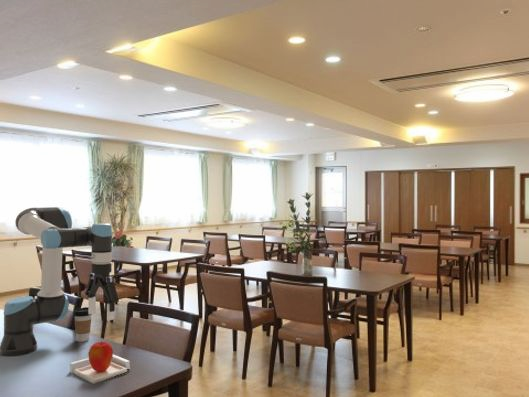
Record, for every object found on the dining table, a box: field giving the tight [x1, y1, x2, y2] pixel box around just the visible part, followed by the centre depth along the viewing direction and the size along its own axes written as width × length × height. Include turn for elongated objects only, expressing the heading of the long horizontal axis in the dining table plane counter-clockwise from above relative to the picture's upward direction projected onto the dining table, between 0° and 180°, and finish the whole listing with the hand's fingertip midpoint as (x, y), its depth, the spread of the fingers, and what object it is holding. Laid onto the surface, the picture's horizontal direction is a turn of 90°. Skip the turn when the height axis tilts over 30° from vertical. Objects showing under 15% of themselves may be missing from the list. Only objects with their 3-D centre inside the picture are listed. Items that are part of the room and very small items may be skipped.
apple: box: [88, 341, 114, 372], centre depth 181 cm, size 9×9×12 cm
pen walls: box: [69, 353, 131, 374], centre depth 183 cm, size 16×17×4 cm
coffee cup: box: [73, 306, 93, 343], centre depth 223 cm, size 8×8×15 cm
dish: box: [73, 362, 128, 384], centre depth 180 cm, size 14×14×2 cm
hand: (101, 316), depth 180 cm, fingers open, 13 cm apart
